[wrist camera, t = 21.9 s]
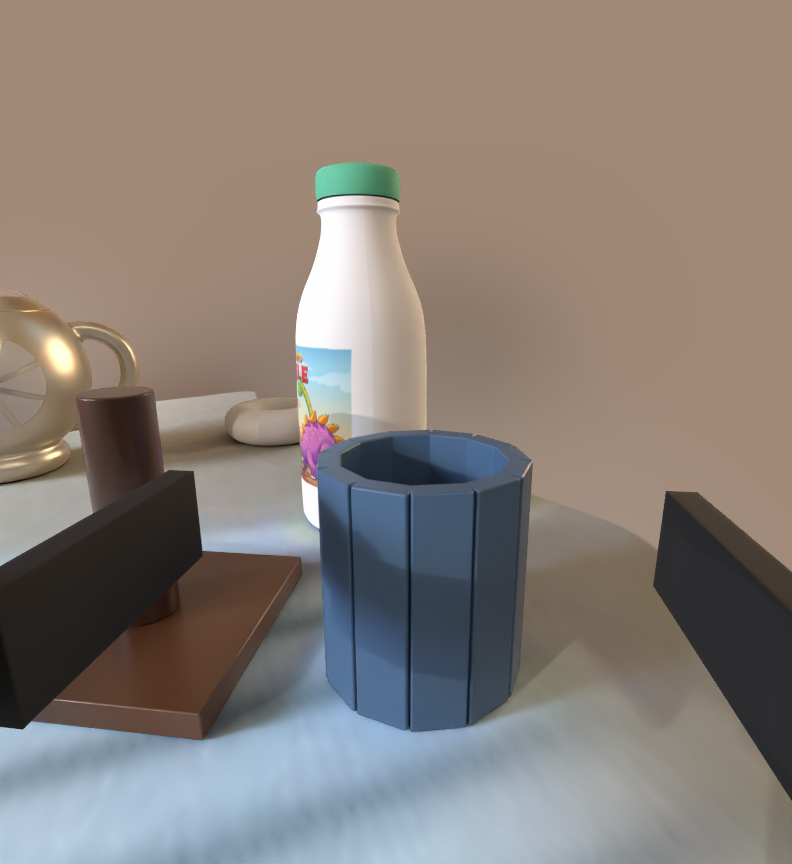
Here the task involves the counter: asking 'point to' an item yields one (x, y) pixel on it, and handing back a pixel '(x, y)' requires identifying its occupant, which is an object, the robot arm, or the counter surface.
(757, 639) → the robot arm
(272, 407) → the donut
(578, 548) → the counter surface
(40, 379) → the teapot
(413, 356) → the milk bottle
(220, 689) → the post stand
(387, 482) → the ring sleeve
